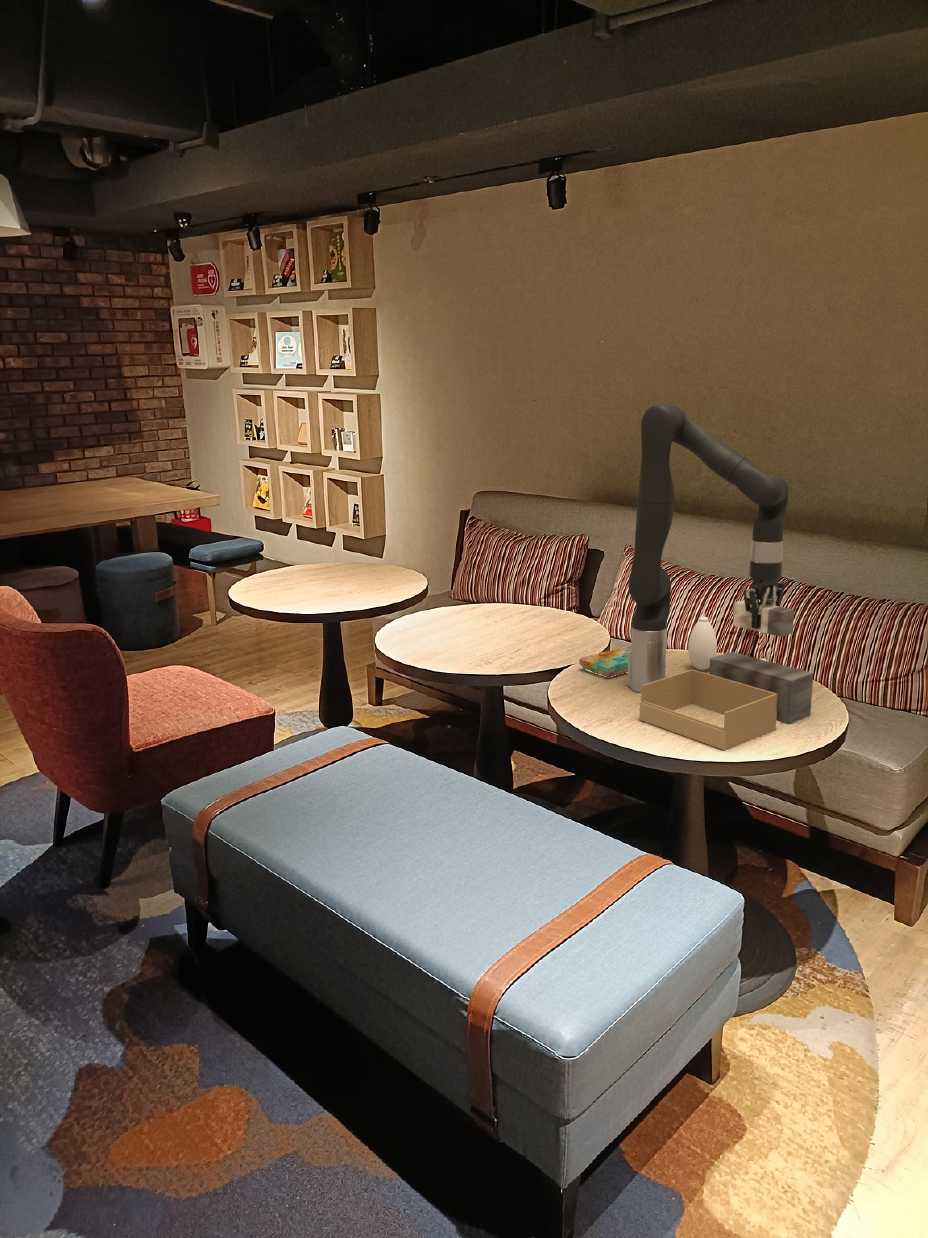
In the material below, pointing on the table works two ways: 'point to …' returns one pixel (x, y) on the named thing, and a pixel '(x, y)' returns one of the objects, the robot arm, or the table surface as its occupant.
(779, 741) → the table surface
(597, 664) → the puzzle game
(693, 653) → the sauce bottle
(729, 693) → the carton
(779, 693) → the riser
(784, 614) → the block
